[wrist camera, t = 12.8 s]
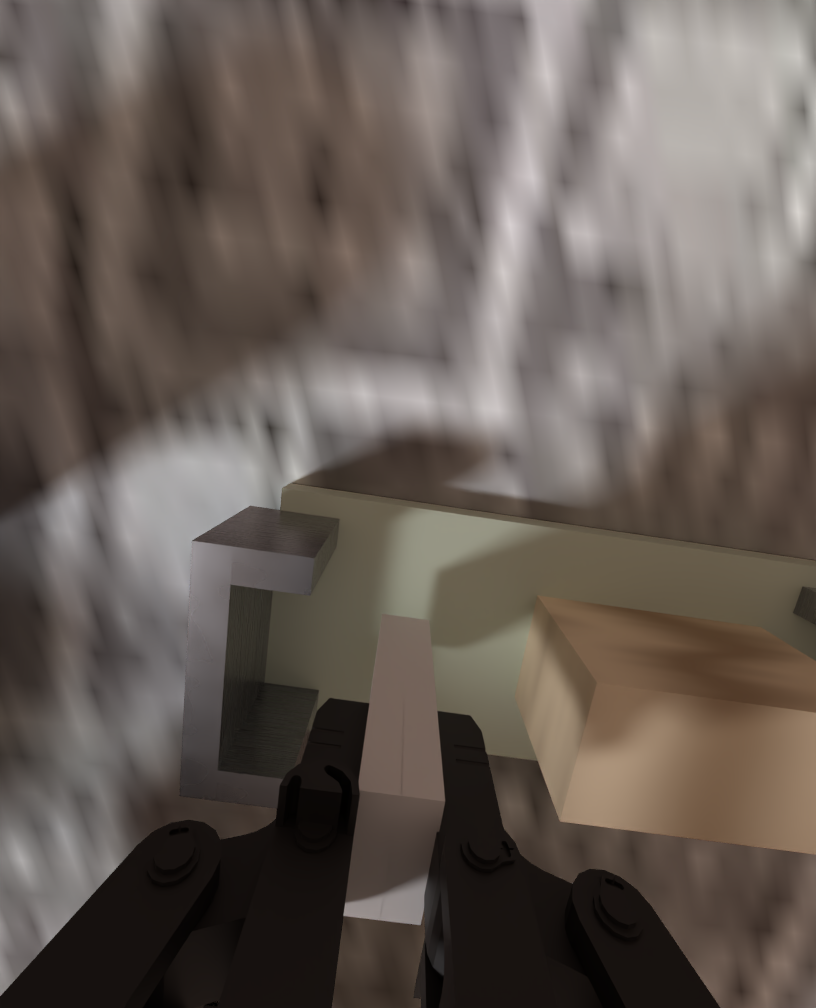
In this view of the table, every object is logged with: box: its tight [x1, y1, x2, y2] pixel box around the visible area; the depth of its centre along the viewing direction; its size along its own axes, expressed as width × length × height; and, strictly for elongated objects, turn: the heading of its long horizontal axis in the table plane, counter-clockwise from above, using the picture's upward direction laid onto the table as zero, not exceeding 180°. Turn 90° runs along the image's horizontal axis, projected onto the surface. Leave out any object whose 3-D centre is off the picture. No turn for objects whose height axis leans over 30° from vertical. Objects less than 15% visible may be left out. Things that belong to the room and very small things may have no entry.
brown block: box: [515, 595, 816, 855], centre depth 13 cm, size 8×4×5 cm, turn 82°
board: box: [265, 483, 816, 761], centre depth 16 cm, size 28×9×1 cm, turn 82°
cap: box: [180, 506, 340, 808], centre depth 14 cm, size 3×8×4 cm, turn 171°
